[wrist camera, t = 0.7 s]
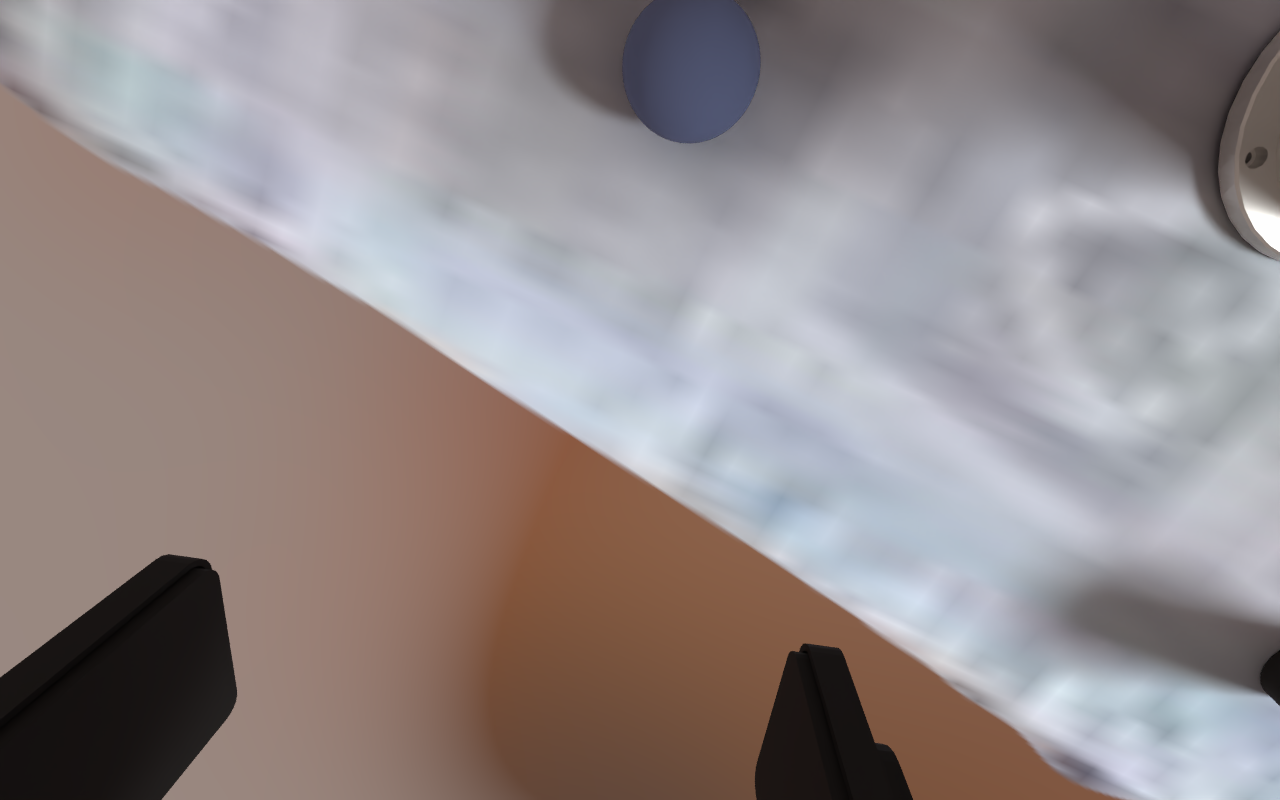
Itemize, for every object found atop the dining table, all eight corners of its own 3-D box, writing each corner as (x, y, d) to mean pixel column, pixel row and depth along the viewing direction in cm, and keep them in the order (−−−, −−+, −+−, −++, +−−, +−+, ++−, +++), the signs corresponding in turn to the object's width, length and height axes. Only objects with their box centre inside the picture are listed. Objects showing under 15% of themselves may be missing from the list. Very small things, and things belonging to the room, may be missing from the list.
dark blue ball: (735, -13, 25) (752, -60, 20) (762, 124, 27) (784, 113, 22) (611, 30, 26) (597, -4, 21) (646, 161, 28) (641, 159, 23)
